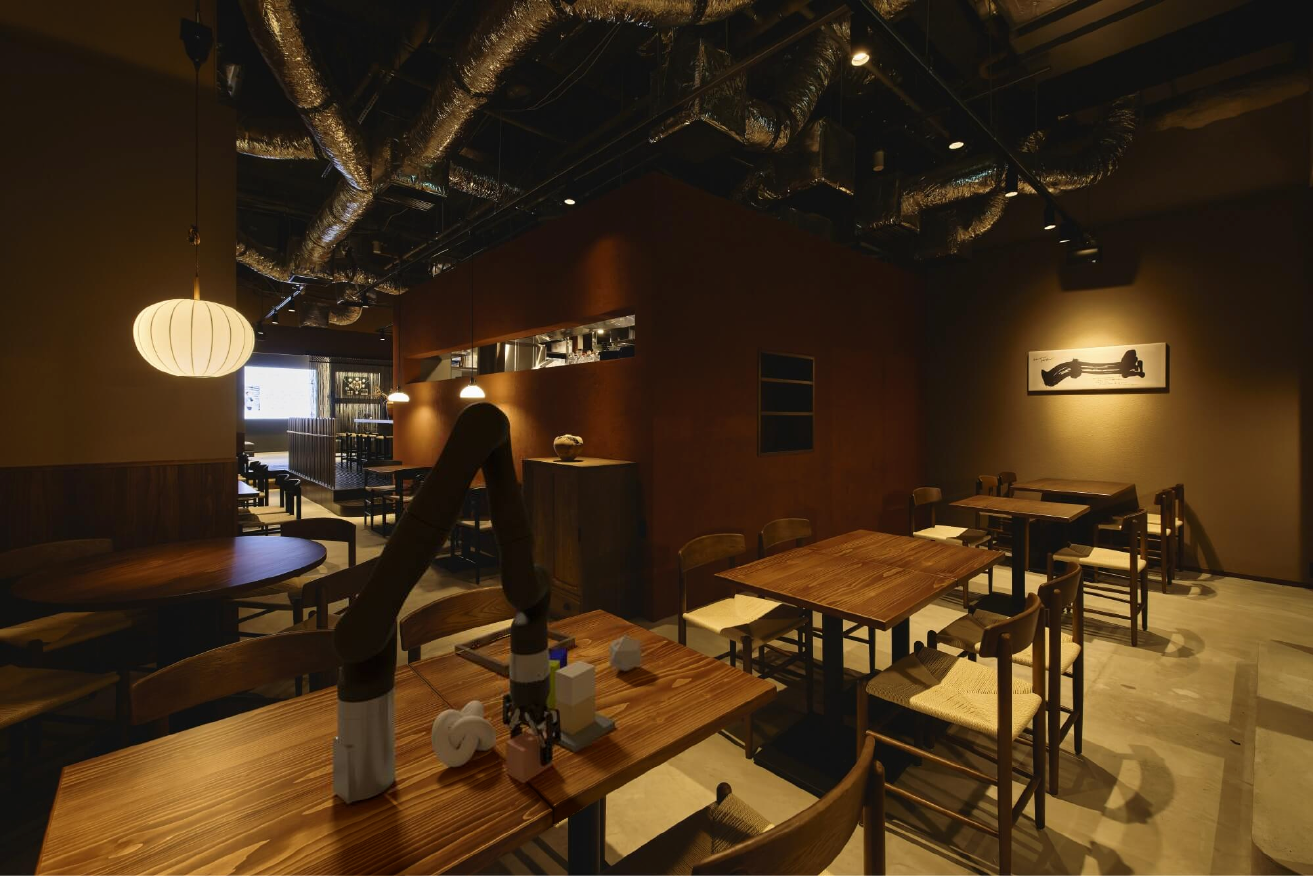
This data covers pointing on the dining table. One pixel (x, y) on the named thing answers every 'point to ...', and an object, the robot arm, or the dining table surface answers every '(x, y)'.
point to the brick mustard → (576, 715)
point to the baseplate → (585, 733)
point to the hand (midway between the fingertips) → (531, 756)
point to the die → (625, 653)
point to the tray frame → (488, 661)
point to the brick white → (575, 682)
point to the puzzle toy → (556, 662)
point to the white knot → (461, 734)
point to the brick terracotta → (524, 756)
